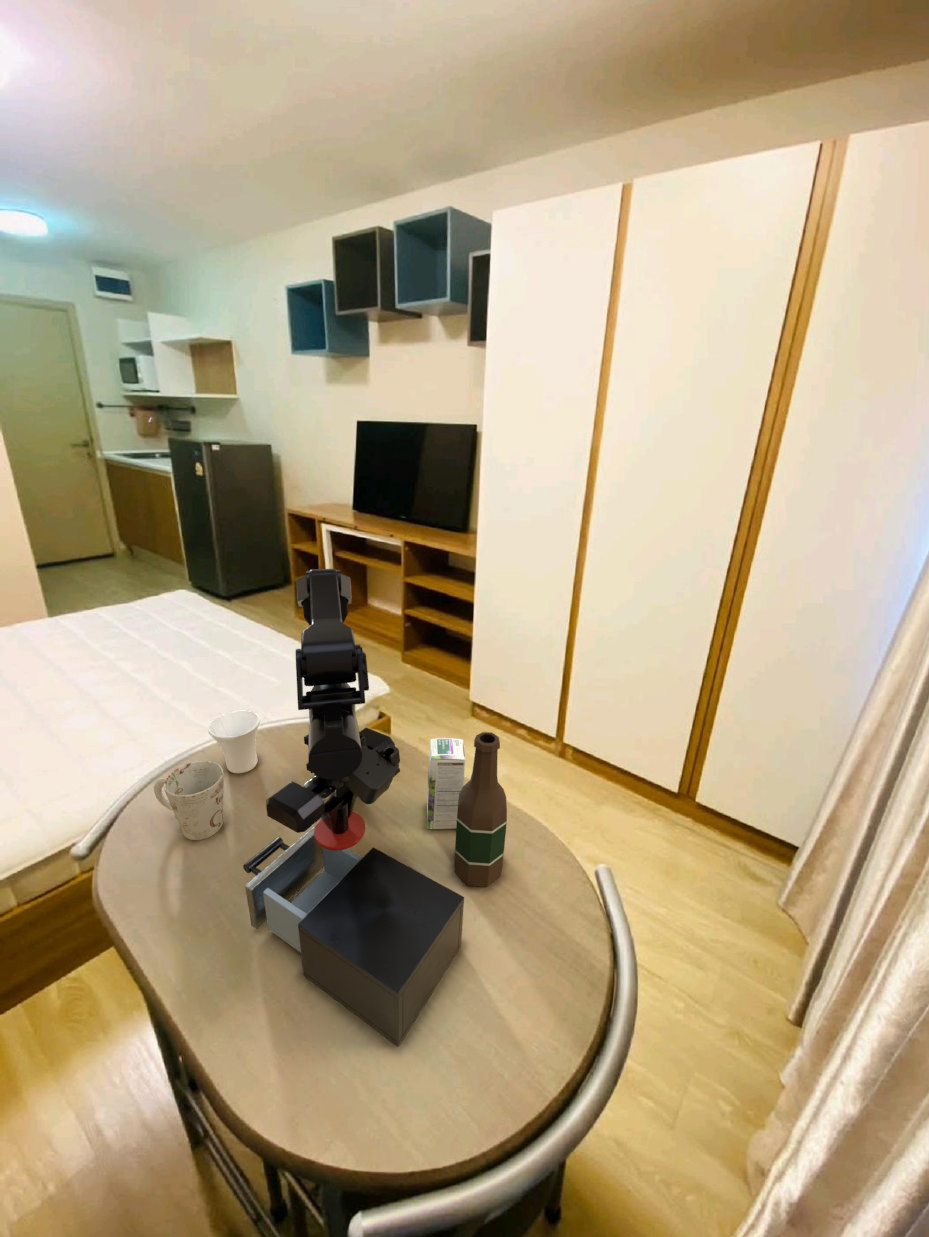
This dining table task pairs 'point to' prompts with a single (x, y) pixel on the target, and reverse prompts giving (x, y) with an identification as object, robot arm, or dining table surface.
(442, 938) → the small cabinet
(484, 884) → the beer bottle
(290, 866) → the drawer
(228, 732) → the cup
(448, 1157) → the dining table surface
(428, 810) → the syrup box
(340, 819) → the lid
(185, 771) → the mug
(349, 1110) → the dining table surface
